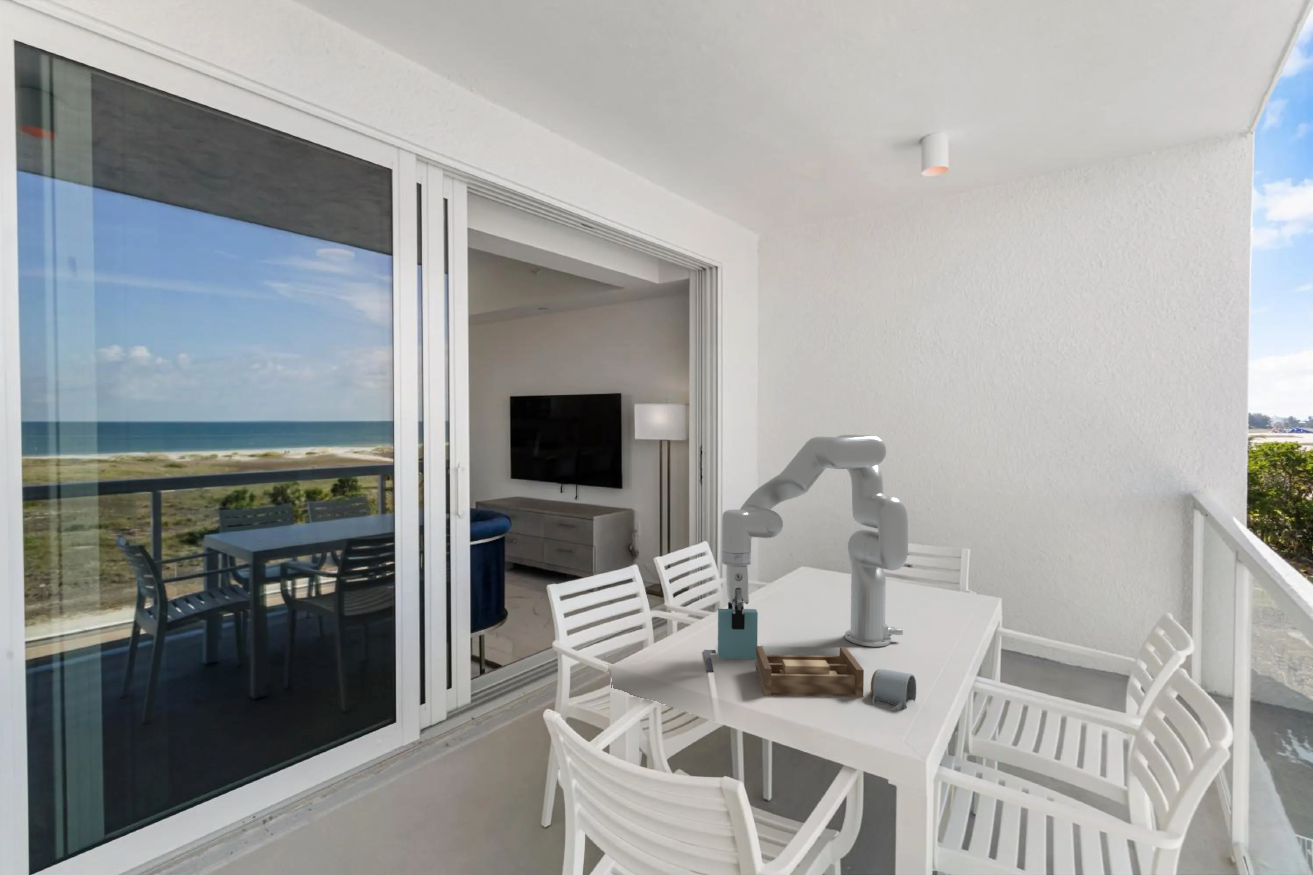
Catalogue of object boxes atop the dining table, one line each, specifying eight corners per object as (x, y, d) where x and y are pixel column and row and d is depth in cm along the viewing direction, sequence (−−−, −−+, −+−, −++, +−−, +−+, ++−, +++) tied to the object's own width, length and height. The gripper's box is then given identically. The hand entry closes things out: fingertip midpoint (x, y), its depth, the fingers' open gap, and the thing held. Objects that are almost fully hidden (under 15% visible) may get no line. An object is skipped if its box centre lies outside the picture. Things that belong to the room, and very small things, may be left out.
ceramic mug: (880, 693, 142) (880, 661, 142) (917, 703, 137) (917, 669, 137) (863, 711, 134) (863, 676, 134) (902, 722, 129) (902, 686, 129)
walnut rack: (845, 677, 151) (845, 647, 151) (863, 703, 137) (863, 669, 137) (755, 675, 152) (756, 645, 152) (764, 701, 138) (764, 668, 138)
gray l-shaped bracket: (762, 652, 168) (762, 650, 168) (770, 672, 154) (770, 670, 154) (703, 651, 168) (703, 649, 168) (706, 672, 154) (706, 670, 154)
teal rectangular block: (755, 657, 162) (756, 609, 162) (757, 662, 159) (757, 612, 159) (717, 657, 163) (718, 608, 162) (718, 661, 160) (718, 612, 159)
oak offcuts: (835, 683, 144) (835, 660, 144) (839, 690, 140) (839, 666, 140) (779, 682, 145) (779, 659, 144) (782, 689, 141) (782, 665, 140)
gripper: (755, 565, 152) (754, 634, 152) (746, 550, 169) (746, 612, 169) (725, 565, 152) (724, 634, 152) (719, 550, 169) (719, 612, 169)
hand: (736, 622), depth 161 cm, fingers open, 9 cm apart
